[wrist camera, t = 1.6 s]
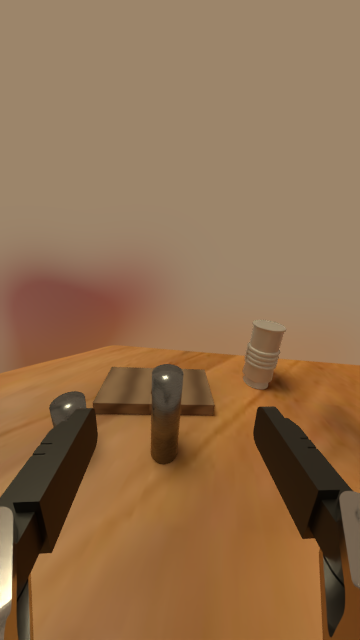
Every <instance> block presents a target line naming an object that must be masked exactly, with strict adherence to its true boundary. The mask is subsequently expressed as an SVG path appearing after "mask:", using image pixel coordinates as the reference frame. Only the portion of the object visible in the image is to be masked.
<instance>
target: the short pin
mask: <svg viewBox="0 0 360 640" xmlns="http://www.w3.org/2000/svg"><path fill="white" fill-rule="evenodd" d="M78 408H86V402H85V396H84V394H83V393H81V392H76V391H75V392H68V393H65V394H62V395H60V396H59V397H57V398H56V399H55V400H53V402H52V403H51V404H50V408H49V409H50V414H51V418H52V422H53V427H55V426H57V425H58V424H59V423H60V422H61V421H68V419H69V418H70V416H71V415H72V414H73V412H74V411H75V410H76V409H78Z"/></svg>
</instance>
